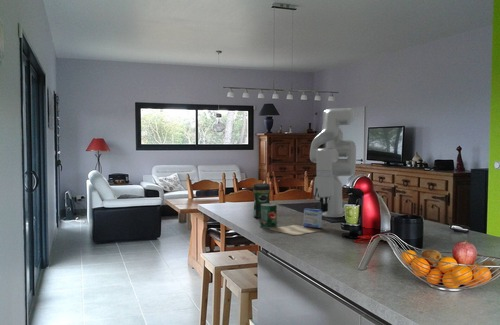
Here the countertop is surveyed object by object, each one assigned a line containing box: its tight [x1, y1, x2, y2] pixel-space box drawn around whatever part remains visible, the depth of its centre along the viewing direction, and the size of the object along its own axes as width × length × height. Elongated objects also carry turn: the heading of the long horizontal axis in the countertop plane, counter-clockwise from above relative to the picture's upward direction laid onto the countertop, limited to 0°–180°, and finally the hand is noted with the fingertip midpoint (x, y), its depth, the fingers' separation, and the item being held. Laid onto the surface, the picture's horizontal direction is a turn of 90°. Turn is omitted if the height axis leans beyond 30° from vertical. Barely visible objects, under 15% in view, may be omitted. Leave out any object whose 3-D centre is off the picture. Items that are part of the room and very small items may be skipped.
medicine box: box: [302, 208, 323, 229], centre depth 219 cm, size 8×4×9 cm, turn 63°
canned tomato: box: [260, 202, 278, 229], centre depth 223 cm, size 8×8×11 cm
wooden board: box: [269, 224, 321, 237], centre depth 213 cm, size 16×18×1 cm
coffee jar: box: [252, 182, 271, 219], centre depth 251 cm, size 10×8×19 cm
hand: (324, 211), depth 223 cm, fingers closed
